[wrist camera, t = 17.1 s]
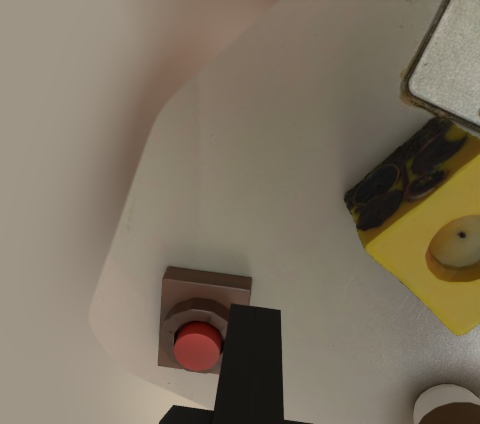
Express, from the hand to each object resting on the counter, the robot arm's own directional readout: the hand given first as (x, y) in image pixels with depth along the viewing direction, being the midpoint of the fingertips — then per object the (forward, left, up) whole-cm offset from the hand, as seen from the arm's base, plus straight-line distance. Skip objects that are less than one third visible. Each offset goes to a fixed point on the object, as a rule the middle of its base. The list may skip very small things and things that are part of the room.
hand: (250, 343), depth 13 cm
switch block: (+17, -4, -24) cm, 30 cm away
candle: (+2, +14, -25) cm, 28 cm away
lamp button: (+17, -4, -21) cm, 27 cm away
